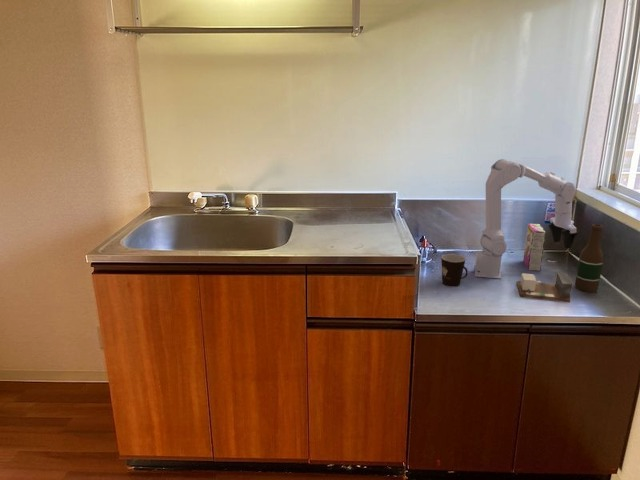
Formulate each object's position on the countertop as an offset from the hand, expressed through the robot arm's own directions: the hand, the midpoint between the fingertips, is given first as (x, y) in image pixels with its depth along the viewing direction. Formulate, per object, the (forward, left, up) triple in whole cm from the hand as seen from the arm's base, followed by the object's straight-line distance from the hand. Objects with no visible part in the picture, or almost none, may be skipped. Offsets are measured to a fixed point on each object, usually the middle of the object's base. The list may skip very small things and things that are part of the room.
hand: (562, 244), depth 191 cm
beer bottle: (+6, -17, -11) cm, 21 cm away
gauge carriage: (-14, -26, -9) cm, 31 cm away
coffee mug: (-41, -26, -11) cm, 49 cm away
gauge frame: (-10, -25, -11) cm, 28 cm away
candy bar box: (-10, +2, -11) cm, 15 cm away
